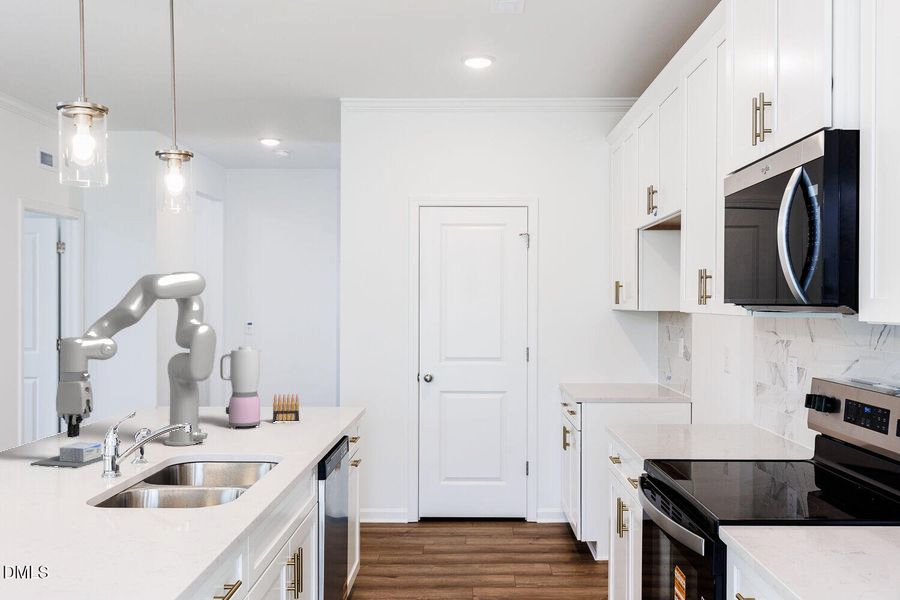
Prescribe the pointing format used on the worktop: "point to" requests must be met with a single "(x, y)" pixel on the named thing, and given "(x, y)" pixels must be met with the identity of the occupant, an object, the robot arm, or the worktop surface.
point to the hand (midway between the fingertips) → (73, 436)
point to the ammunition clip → (286, 409)
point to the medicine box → (80, 452)
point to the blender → (243, 386)
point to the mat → (56, 462)
